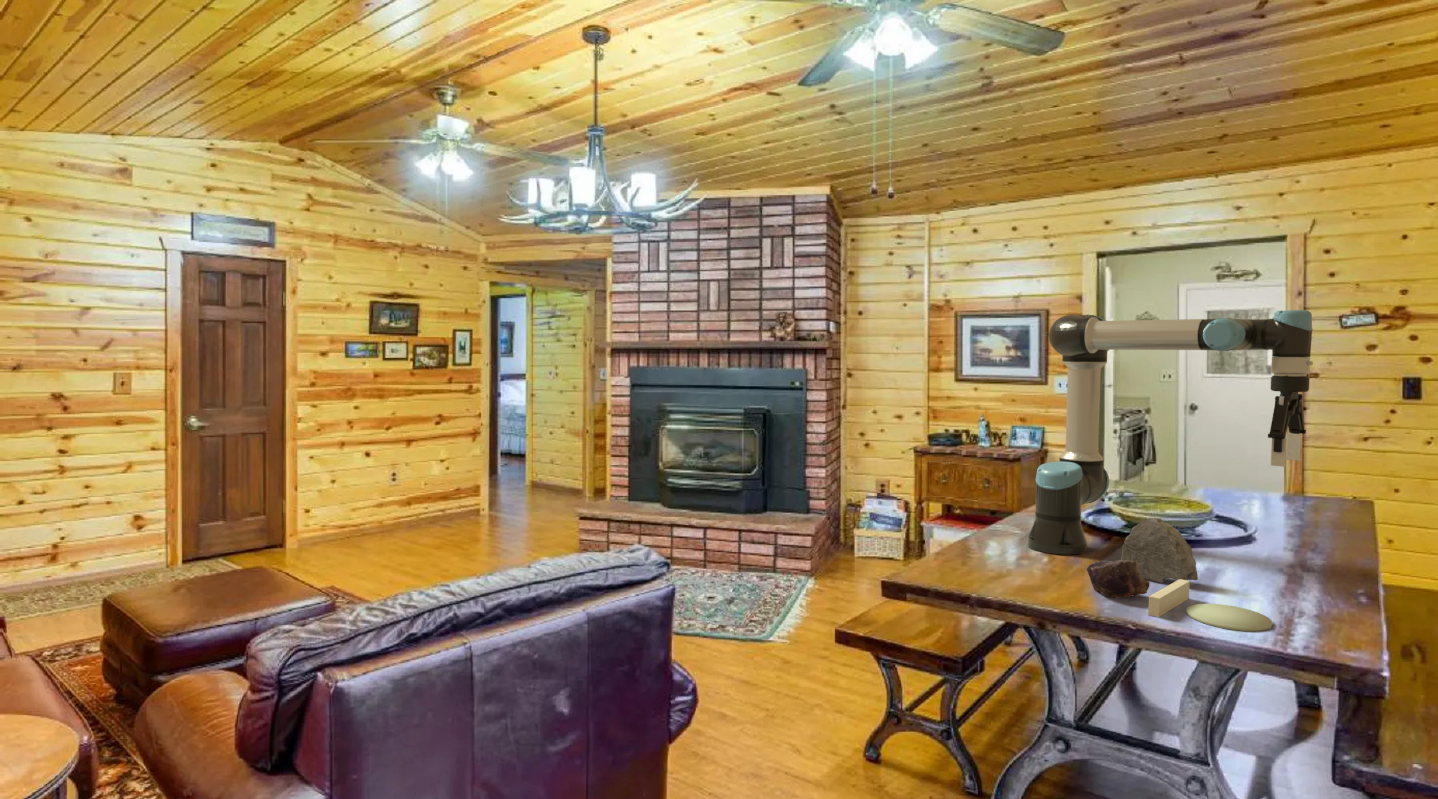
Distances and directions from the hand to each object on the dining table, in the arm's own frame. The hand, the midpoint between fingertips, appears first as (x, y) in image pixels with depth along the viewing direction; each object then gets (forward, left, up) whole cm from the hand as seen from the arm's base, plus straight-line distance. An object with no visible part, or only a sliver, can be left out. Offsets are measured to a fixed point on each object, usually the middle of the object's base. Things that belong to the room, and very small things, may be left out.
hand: (1285, 463), depth 194 cm
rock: (-21, -44, -28) cm, 57 cm away
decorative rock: (-19, -24, -28) cm, 42 cm away
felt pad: (+1, -42, -28) cm, 51 cm away
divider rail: (-10, -43, -28) cm, 53 cm away
